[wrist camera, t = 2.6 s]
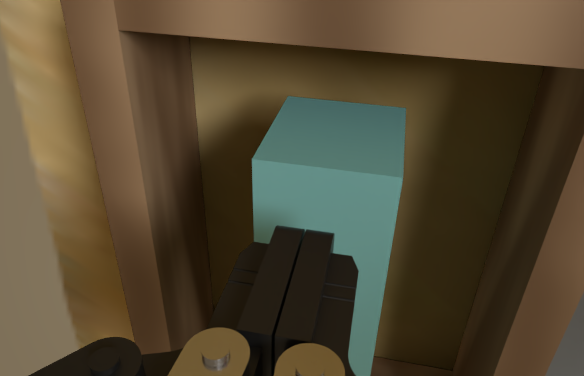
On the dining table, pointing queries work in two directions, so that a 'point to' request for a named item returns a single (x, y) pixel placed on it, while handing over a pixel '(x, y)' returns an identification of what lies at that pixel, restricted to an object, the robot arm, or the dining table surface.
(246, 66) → the dining table surface
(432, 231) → the dining table surface
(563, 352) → the slate mat
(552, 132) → the pocket
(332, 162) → the teal rectangular block
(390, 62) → the dining table surface
